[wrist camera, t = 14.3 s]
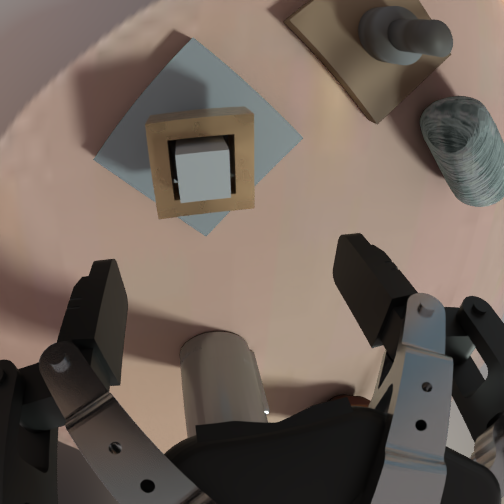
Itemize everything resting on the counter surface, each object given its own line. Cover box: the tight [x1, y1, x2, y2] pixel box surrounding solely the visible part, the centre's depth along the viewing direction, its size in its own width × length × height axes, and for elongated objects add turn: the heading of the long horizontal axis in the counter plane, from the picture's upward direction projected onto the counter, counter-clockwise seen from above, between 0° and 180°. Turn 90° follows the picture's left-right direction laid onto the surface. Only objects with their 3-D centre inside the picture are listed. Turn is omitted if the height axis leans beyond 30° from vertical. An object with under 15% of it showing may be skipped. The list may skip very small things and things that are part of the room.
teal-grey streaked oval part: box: [420, 96, 504, 207], centre depth 26 cm, size 14×10×10 cm
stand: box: [284, 0, 453, 124], centre depth 18 cm, size 12×12×8 cm
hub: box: [94, 38, 303, 236], centre depth 21 cm, size 12×12×8 cm
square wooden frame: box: [145, 106, 254, 219], centre depth 20 cm, size 6×6×3 cm
